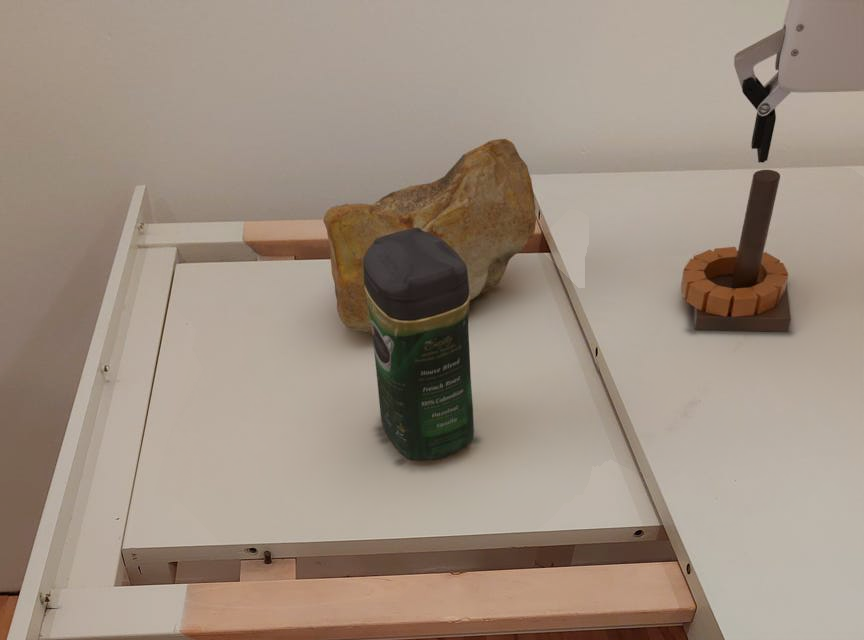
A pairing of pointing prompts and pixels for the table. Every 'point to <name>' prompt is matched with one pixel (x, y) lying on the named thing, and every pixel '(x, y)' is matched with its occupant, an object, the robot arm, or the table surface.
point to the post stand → (751, 264)
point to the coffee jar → (421, 343)
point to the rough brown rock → (440, 223)
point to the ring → (729, 299)
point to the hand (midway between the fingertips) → (817, 155)
